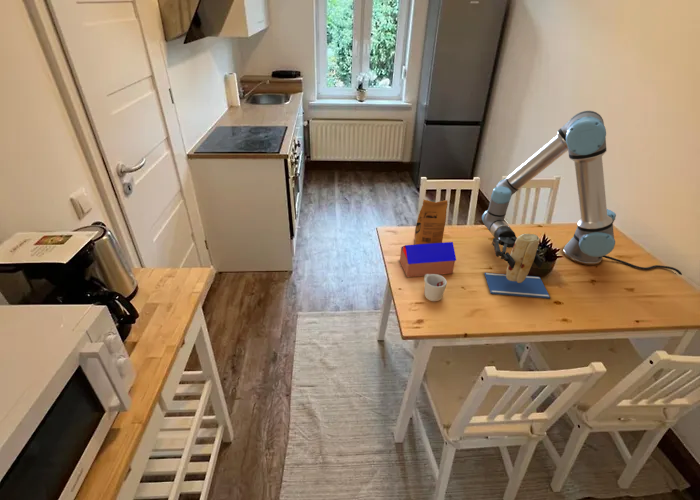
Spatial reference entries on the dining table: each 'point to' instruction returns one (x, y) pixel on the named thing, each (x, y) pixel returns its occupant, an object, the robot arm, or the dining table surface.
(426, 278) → the cup
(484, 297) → the dining table surface
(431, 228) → the coffee package
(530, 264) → the food model
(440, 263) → the house
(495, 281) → the towel
